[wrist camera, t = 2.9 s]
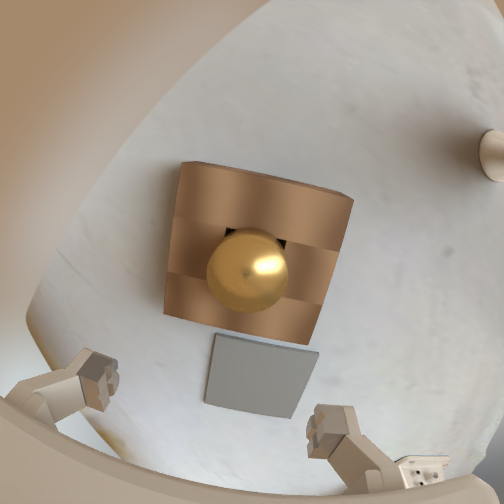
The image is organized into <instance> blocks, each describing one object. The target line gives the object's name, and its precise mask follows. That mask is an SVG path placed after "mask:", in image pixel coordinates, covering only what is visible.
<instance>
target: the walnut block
mask: <svg viewBox="0 0 504 504" xmlns="http://www.w3.org/2000/svg"><path fill="white" fill-rule="evenodd" d="M353 202H354V200H353V199H351V198H350V197H348V196H346V195H344V194H343V193H341V192H337V191H333V190H329V189H326V188H322V187H318V186H314V185H310V184H305V183H301V182H297V181H293V180H289V179H284V178H280V177H275V176H271V175H266V174H261V173H257V172H252V171H247V170H242V169H237V168H232V167H226V166H221V165H216V164H210V163H204V162H198V161H194V162H183V163H182V165H181V170H180V176H179V183H178V189H177V195H176V202H175V209H174V216H173V224H172V231H171V239H170V248H169V257H168V266H167V276H166V287H165V299H164V313H163V314H166V315H170V316H174V317H177V318H181V319H185V320H189V321H193V322H197V323H201V324H205V325H209V326H214V327H218V328H222V329H227V330H231V331H236V332H240V333H245V334H250V335H255V336H260V337H265V338H270V339H275V340H280V341H286V342H291V343H297V344H303V345H308V344H309V341H310V339H311V336H312V333H313V330H314V328H315V325H316V322H317V319H318V316H319V313H320V311H321V308H322V305H323V302H324V299H325V296H326V293H327V290H328V287H329V284H330V281H331V278H332V274H333V271H334V268H335V265H336V262H337V258H338V255H339V252H340V248H341V245H342V242H343V238H344V235H345V231H346V228H347V224H348V220H349V217H350V213H351V209H352V206H353ZM231 228H232V229H241V228H258V229H262V230H264V231H267V232H268V233H270V234H272V235H273V236H274V237H275V238H278V239H282V241H281V245H282V247H283V249H284V251H285V254H286V260H287V269H288V283H287V287H286V290H285V292H284V294H283V296H282V297H281V298H280V300H279V301H278V302H277V303H275V304H274V305H273V306H271V307H270V308H268V309H266V310H263V311H260V312H256V313H242V312H237V311H234V310H231V309H229V308H227V307H226V306H224V305H223V304H221V303H220V302H219V301H218V300H217V299H216V298H215V297H214V295H213V294H212V292H211V290H210V288H209V285H208V282H207V266H208V262H209V260H210V258H211V256H212V254H213V253H214V251H215V249H216V248H217V246H218V245H219V243H220V242H221V240H222V239H223V238H224V237H225V236H226V235H228V234H229V233H231Z"/></svg>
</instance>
